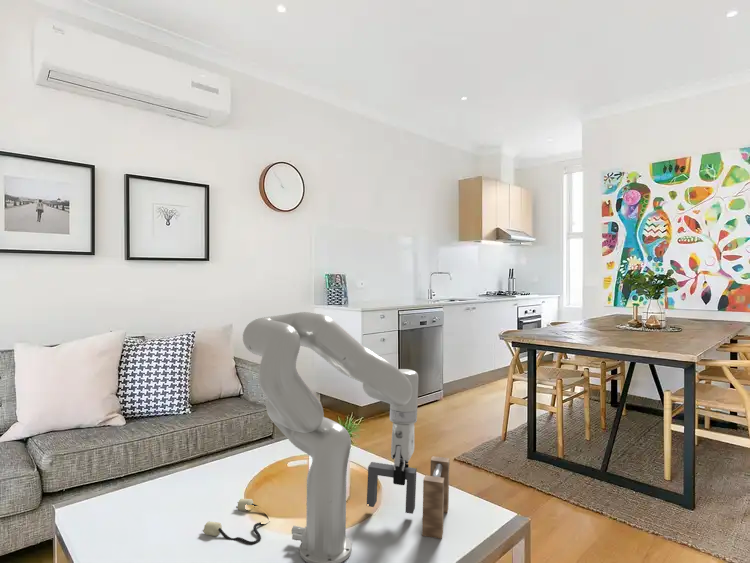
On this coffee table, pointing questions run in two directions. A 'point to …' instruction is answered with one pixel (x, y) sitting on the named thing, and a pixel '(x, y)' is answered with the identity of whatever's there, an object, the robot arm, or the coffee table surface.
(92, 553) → the coffee table surface
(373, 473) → the grey channel bracket
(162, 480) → the coffee table surface
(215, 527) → the cable
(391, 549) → the coffee table surface
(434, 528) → the hook stand
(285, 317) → the robot arm
